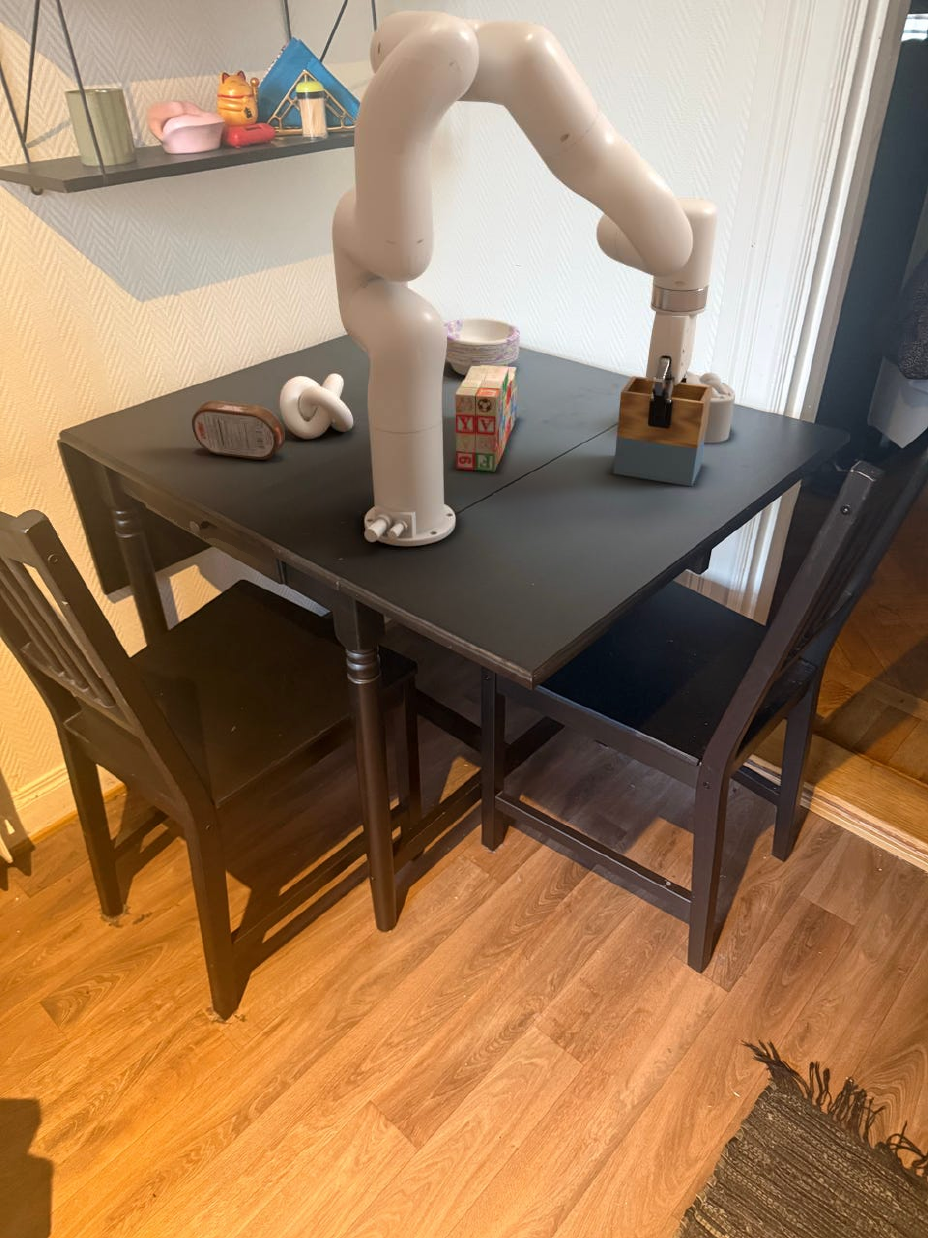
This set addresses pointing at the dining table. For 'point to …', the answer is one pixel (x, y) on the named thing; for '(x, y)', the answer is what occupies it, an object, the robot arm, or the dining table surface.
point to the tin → (238, 430)
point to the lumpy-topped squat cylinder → (716, 406)
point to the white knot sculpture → (314, 406)
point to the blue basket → (657, 461)
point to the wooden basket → (685, 418)
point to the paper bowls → (480, 343)
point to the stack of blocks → (484, 416)
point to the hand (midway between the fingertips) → (666, 414)
